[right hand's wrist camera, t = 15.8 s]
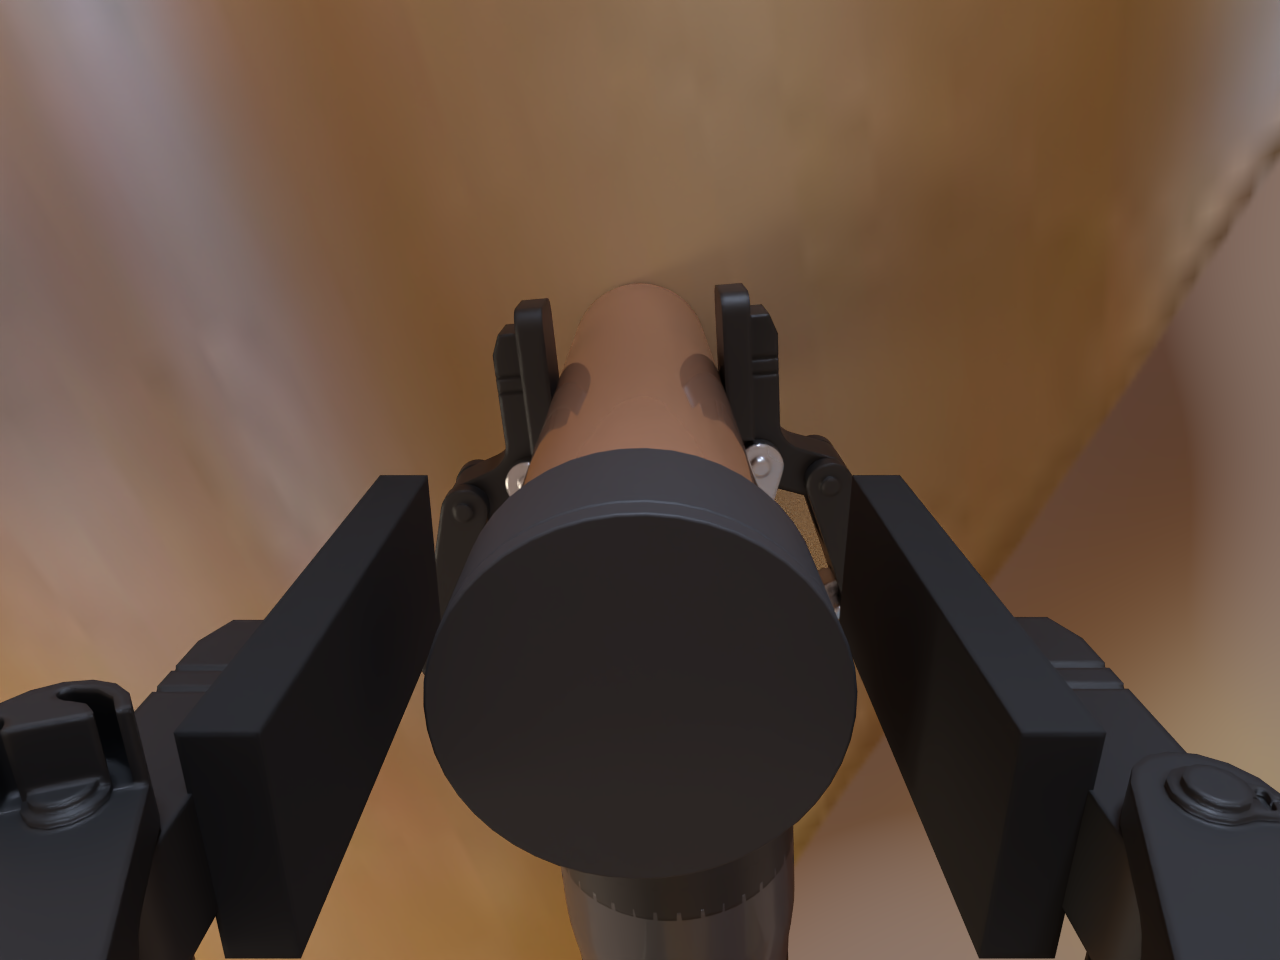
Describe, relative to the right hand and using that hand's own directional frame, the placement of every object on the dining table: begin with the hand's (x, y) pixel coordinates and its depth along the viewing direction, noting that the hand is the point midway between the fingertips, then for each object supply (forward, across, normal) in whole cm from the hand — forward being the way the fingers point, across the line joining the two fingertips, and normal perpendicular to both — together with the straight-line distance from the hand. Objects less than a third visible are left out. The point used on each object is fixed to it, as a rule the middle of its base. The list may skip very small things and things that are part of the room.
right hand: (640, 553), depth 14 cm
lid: (-4, 0, 0) cm, 4 cm away
